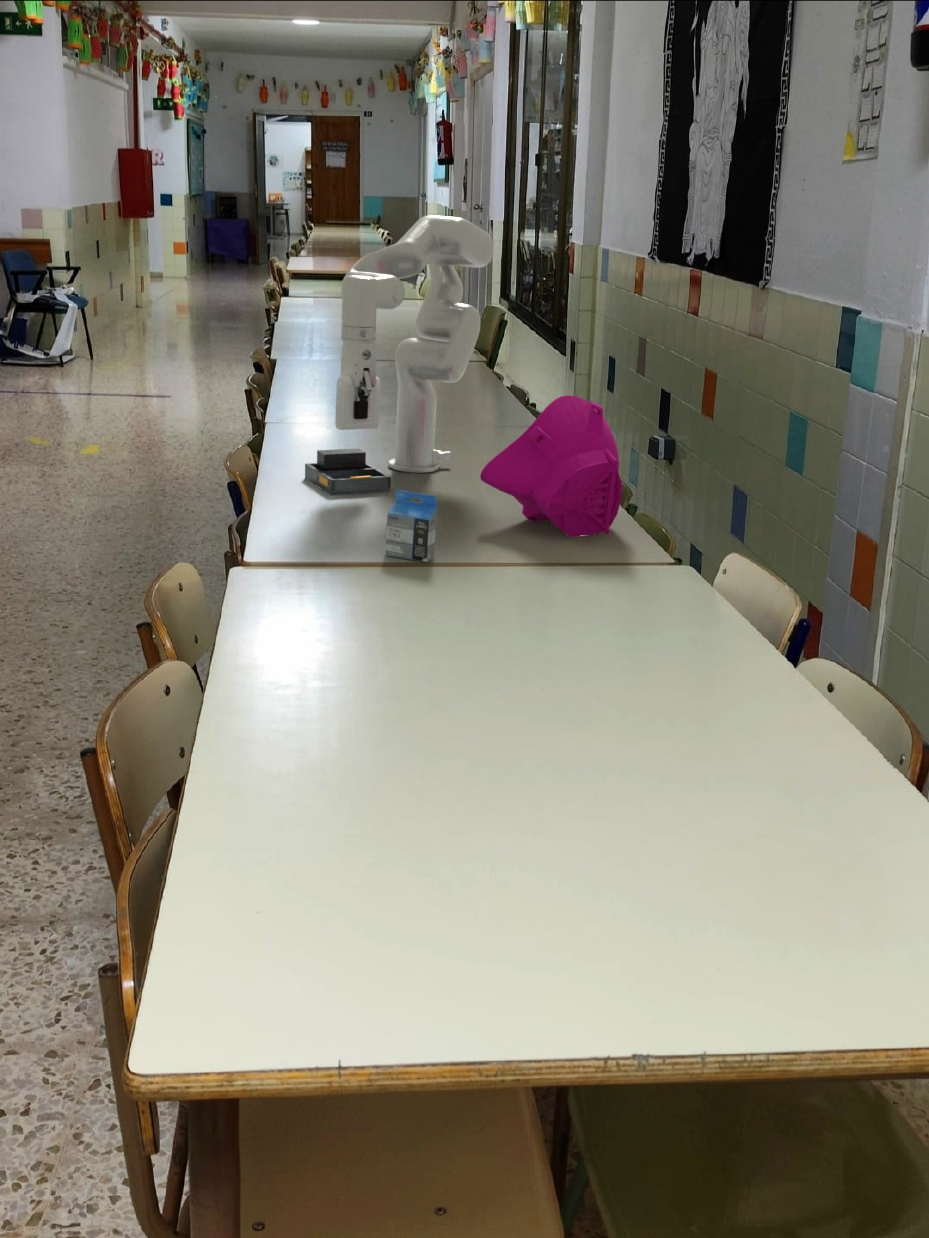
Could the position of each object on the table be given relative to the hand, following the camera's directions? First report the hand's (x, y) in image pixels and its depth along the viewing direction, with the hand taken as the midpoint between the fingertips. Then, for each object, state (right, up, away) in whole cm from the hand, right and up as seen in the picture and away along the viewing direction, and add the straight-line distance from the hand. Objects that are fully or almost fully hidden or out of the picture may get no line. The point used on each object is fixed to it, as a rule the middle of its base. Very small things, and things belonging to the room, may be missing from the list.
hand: (355, 415), depth 271 cm
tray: (-3, -15, +9) cm, 17 cm away
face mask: (+43, -27, -15) cm, 53 cm away
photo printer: (0, -3, +1) cm, 3 cm away
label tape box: (+14, -34, -40) cm, 55 cm away
